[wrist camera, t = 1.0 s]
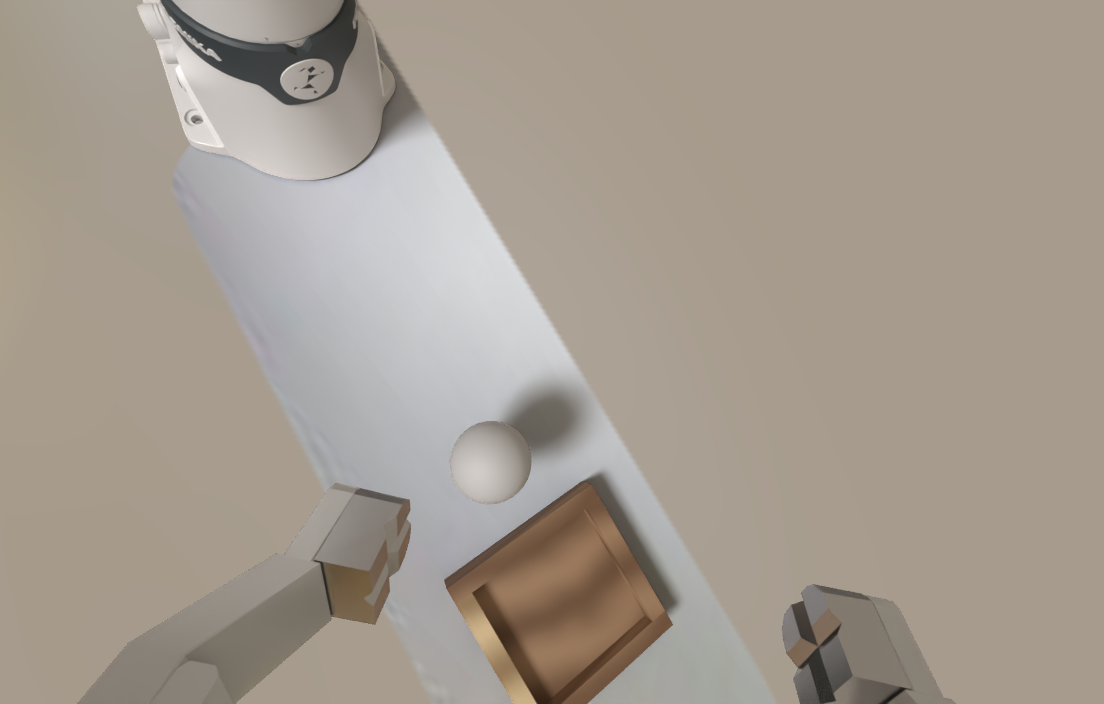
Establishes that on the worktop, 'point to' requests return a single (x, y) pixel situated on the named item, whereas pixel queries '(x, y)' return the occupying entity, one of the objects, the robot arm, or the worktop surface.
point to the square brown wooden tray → (559, 603)
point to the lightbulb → (490, 462)
